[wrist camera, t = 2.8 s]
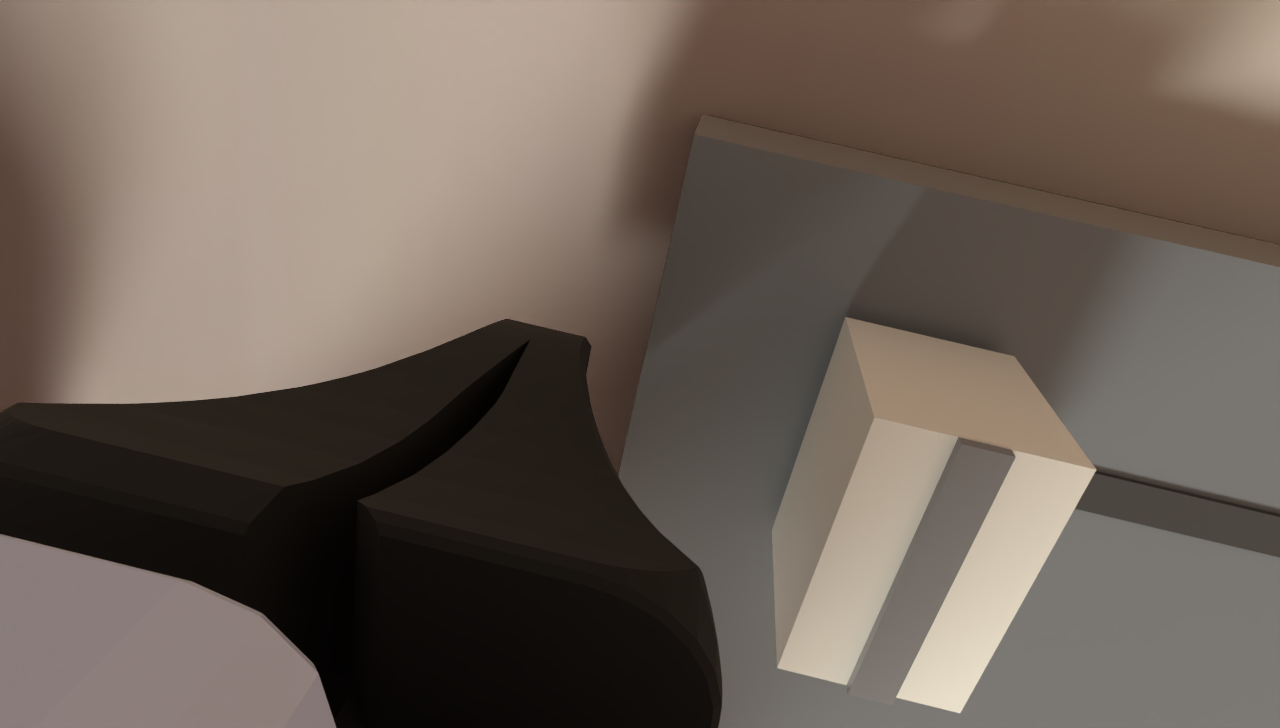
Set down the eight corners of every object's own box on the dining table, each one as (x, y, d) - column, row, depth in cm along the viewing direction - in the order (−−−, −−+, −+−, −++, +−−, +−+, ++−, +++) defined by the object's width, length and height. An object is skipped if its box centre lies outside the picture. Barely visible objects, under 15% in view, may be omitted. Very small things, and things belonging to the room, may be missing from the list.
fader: (771, 530, 13) (776, 677, 10) (845, 316, 11) (875, 424, 9) (917, 564, 13) (962, 722, 10) (1014, 356, 11) (1101, 476, 8)
